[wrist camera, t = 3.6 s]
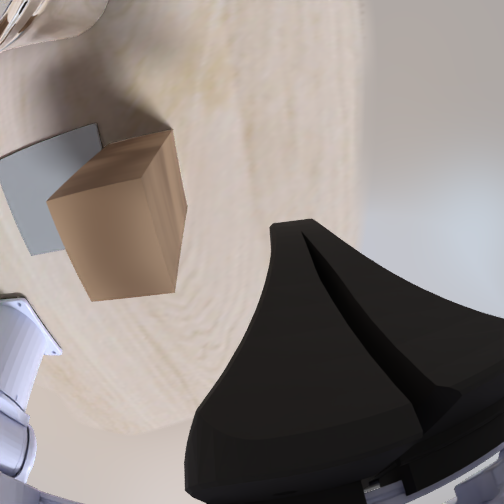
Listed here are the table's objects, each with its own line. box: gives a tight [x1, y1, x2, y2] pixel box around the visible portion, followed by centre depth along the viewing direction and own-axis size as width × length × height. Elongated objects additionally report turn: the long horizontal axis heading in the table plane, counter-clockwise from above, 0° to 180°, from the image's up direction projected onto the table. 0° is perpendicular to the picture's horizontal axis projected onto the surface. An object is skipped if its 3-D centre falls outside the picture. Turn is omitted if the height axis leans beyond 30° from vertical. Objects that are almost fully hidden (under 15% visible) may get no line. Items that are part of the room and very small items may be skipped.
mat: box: [0, 123, 102, 256], centre depth 17 cm, size 9×8×1 cm
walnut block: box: [46, 129, 188, 302], centre depth 14 cm, size 4×5×8 cm
